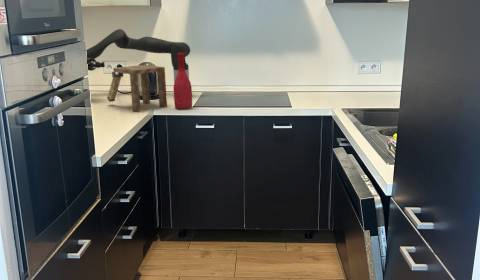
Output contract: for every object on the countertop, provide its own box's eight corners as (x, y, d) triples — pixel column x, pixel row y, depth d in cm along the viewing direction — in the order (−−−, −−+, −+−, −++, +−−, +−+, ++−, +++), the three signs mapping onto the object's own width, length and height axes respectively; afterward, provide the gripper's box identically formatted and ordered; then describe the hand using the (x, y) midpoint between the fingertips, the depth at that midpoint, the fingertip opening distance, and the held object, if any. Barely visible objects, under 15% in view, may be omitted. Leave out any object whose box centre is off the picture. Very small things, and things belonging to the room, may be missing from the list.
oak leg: (112, 97, 276) (119, 72, 265) (114, 100, 275) (121, 75, 263) (107, 98, 274) (114, 72, 263) (109, 101, 273) (116, 76, 261)
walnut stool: (147, 102, 281) (144, 64, 276) (167, 106, 267) (164, 67, 261) (114, 107, 267) (111, 68, 262) (133, 112, 253) (130, 70, 247)
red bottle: (196, 107, 264) (193, 52, 256) (185, 110, 256) (182, 53, 248) (181, 105, 269) (179, 51, 261) (170, 108, 261) (167, 53, 253)
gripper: (76, 58, 282) (89, 60, 270) (97, 56, 292) (112, 58, 279) (77, 71, 284) (91, 73, 272) (99, 69, 293) (113, 71, 281)
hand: (101, 65), depth 276 cm, fingers closed
